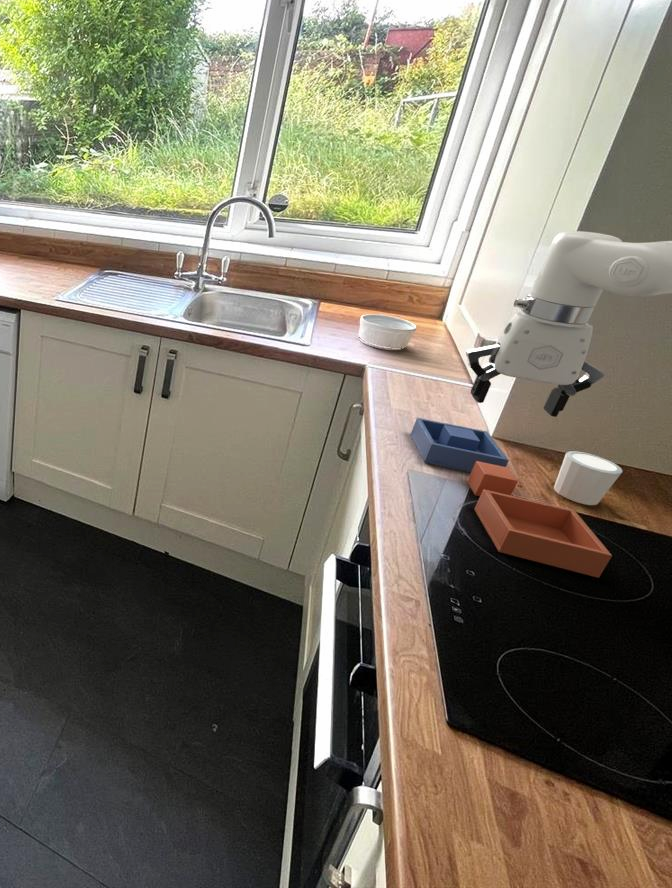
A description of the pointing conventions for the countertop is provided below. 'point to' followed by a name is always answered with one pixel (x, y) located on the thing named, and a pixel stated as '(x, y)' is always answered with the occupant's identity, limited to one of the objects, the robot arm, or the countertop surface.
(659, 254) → the robot arm
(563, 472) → the white cylinder
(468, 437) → the blue block
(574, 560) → the terracotta bin
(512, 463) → the countertop surface
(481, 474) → the terracotta block
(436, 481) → the countertop surface
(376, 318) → the ramekin
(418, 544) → the countertop surface
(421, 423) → the blue bin
